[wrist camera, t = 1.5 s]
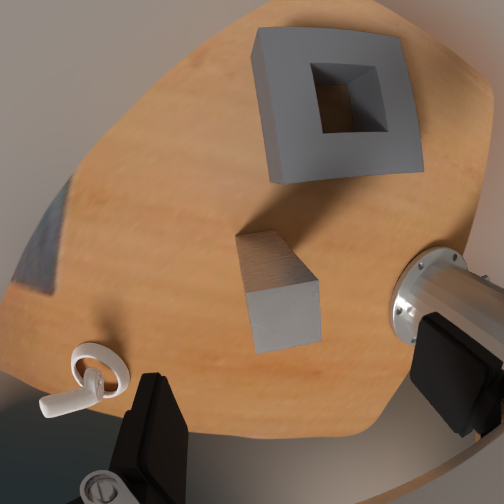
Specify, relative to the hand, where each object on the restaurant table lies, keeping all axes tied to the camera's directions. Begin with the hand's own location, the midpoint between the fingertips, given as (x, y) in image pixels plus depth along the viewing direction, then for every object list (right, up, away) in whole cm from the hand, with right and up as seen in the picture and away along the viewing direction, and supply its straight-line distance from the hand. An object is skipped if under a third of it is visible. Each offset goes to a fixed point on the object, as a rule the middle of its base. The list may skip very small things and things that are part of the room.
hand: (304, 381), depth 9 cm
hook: (-20, -9, +19) cm, 29 cm away
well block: (+5, +17, +15) cm, 23 cm away
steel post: (-1, +4, +17) cm, 18 cm away
